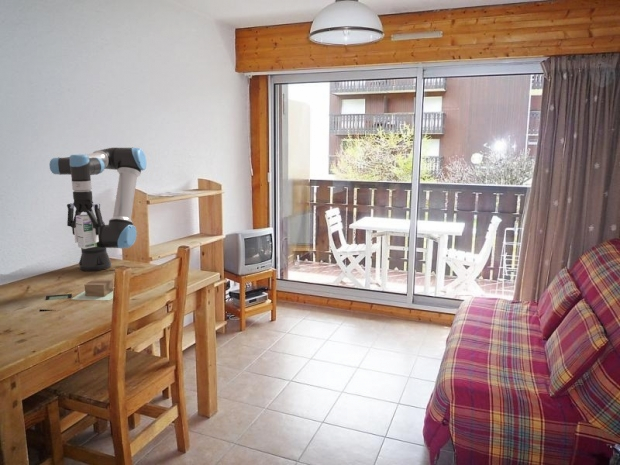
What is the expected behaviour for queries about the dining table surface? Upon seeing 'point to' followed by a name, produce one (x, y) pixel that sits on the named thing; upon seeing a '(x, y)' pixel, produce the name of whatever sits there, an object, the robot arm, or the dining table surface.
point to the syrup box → (85, 231)
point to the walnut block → (99, 287)
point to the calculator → (53, 297)
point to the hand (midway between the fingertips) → (87, 241)
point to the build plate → (83, 297)
